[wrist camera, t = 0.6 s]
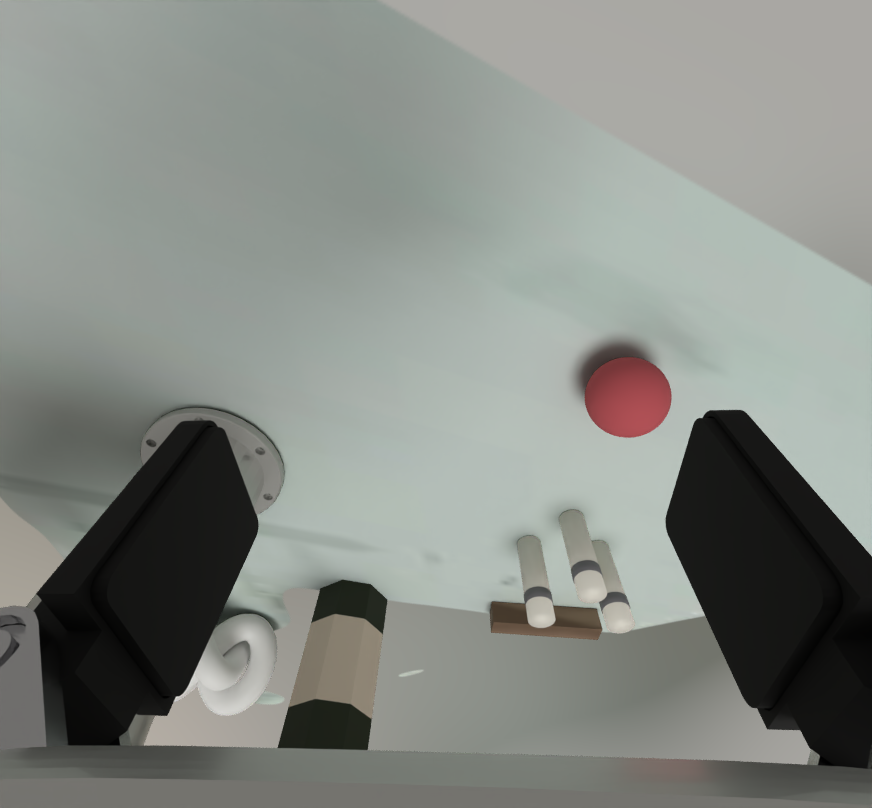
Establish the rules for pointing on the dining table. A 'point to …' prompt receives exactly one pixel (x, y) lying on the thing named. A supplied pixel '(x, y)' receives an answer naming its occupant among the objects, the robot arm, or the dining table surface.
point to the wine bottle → (337, 671)
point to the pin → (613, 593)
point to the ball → (628, 397)
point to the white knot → (235, 664)
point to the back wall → (566, 625)
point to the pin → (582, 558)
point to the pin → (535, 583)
